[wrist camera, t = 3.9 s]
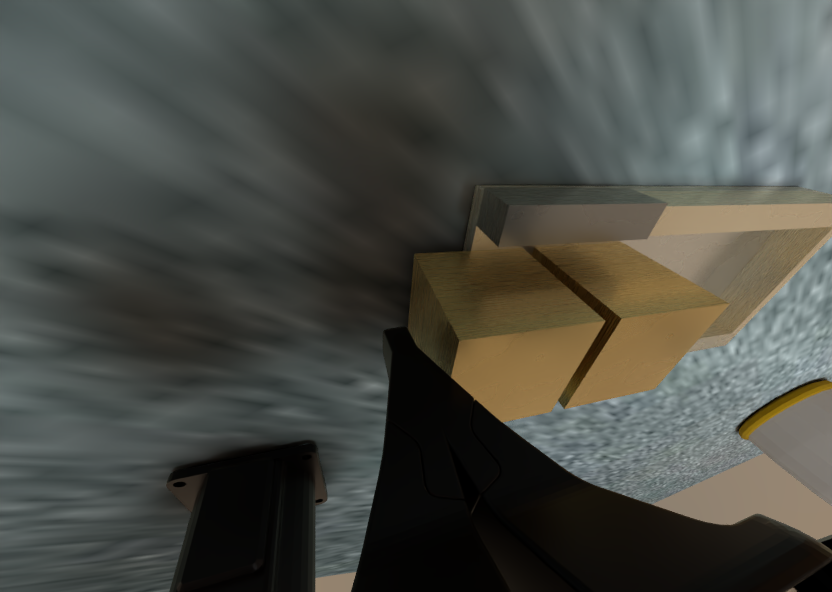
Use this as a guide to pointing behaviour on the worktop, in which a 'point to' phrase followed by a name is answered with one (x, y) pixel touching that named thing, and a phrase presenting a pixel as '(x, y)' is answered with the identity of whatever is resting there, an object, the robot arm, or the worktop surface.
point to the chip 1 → (500, 327)
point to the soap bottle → (798, 435)
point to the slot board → (670, 233)
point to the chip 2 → (629, 317)
